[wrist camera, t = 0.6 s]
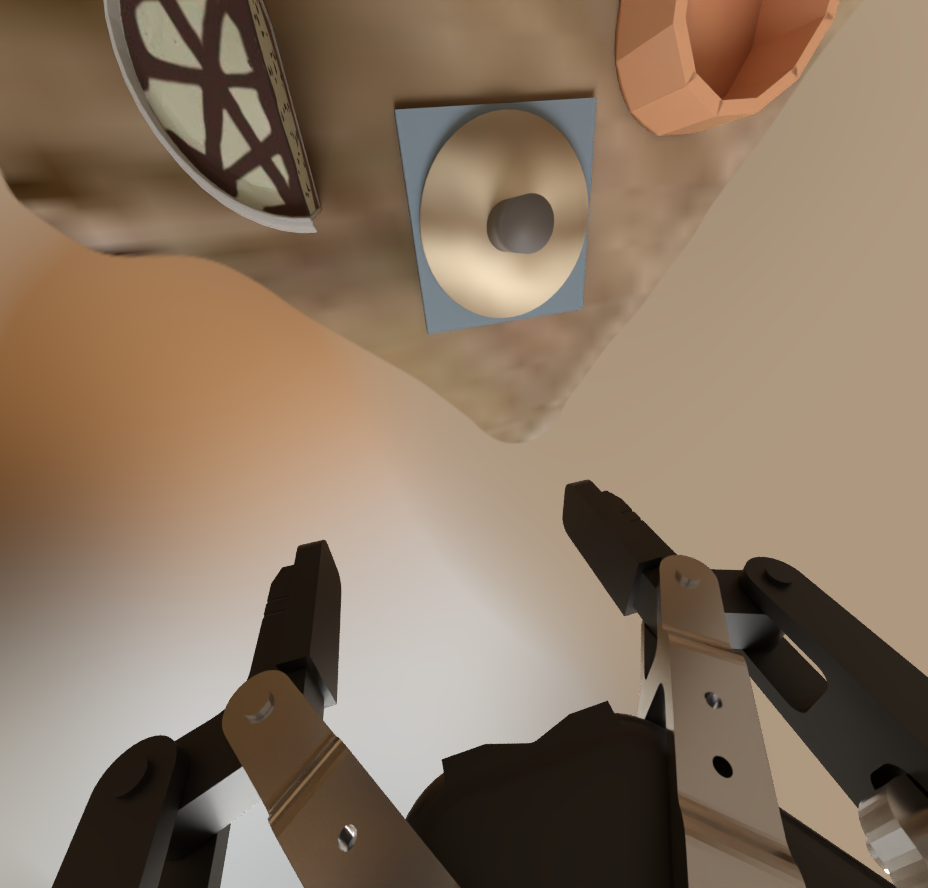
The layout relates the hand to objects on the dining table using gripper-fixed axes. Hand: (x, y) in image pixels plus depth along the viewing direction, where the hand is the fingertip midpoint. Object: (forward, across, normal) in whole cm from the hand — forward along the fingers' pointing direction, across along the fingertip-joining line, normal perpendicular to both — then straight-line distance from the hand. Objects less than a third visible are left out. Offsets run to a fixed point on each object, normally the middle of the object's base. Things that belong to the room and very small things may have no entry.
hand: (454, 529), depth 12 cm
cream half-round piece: (+25, +7, -15) cm, 29 cm away
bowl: (+24, -25, -19) cm, 40 cm away
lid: (+24, -10, -8) cm, 27 cm away
